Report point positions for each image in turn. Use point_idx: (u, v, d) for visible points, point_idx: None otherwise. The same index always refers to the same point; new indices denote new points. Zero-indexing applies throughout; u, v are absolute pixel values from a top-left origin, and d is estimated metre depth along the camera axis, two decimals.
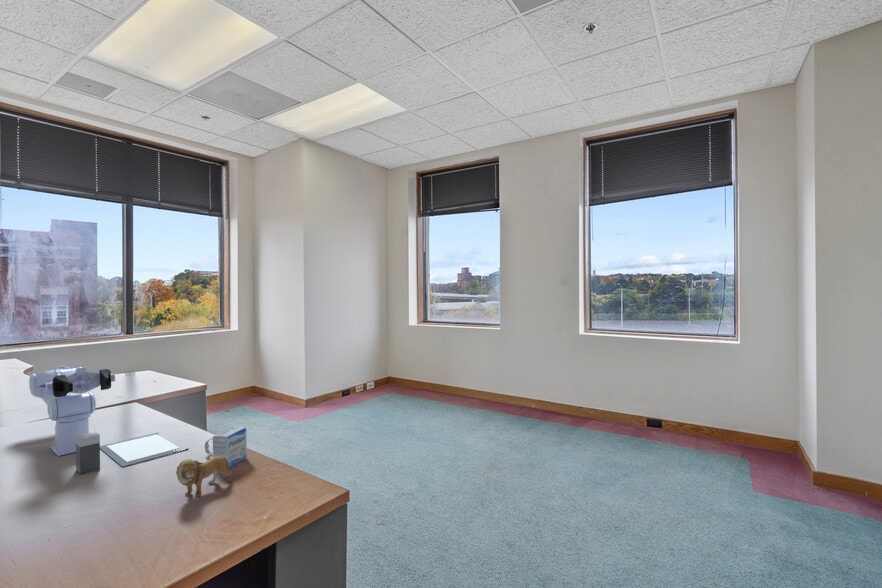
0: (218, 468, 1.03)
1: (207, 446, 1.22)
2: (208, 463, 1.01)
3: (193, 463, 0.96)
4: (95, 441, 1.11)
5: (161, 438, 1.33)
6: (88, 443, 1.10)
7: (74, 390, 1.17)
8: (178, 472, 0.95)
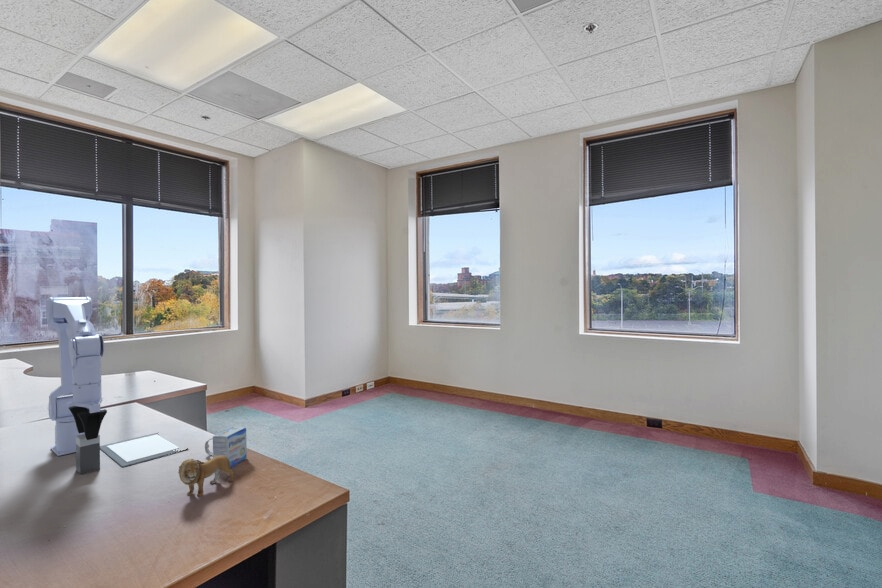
0: (220, 467, 1.03)
1: (207, 446, 1.22)
2: (210, 462, 1.02)
3: (195, 462, 0.97)
4: (95, 441, 1.11)
5: (161, 438, 1.33)
6: (88, 443, 1.10)
7: None
8: (180, 471, 0.95)
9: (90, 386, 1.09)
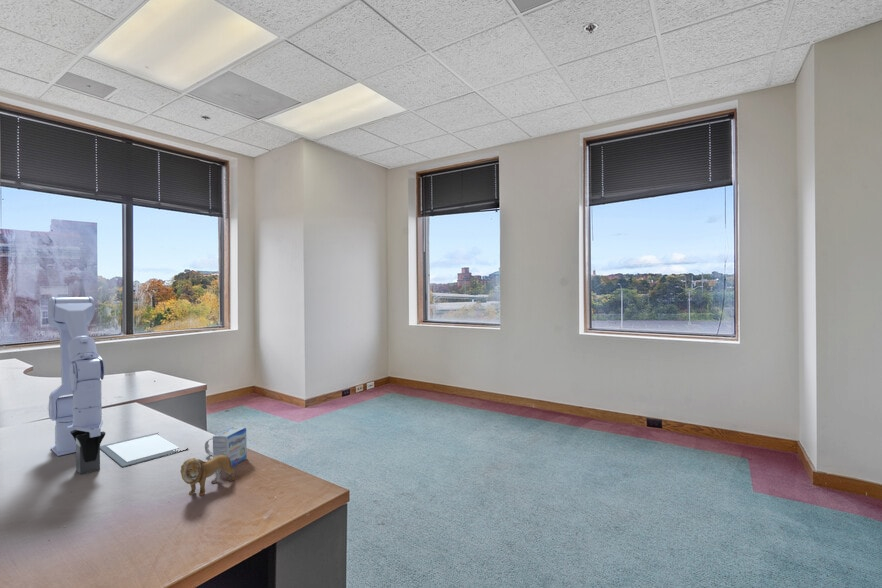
0: (221, 467, 1.04)
1: (207, 446, 1.22)
2: (211, 462, 1.02)
3: (197, 462, 0.97)
4: None
5: (161, 438, 1.33)
6: None
7: None
8: (182, 471, 0.95)
9: (90, 410, 1.10)
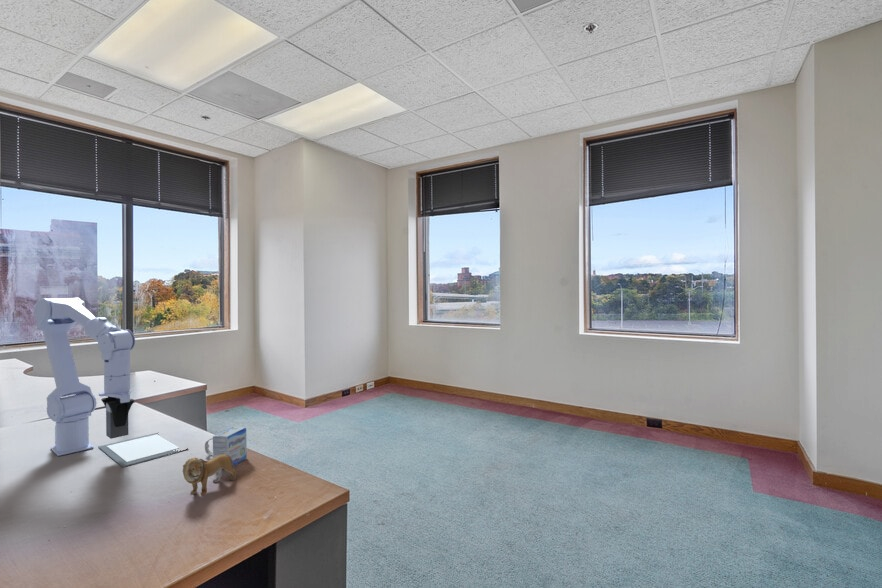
0: (223, 466, 1.04)
1: (207, 446, 1.22)
2: (213, 461, 1.02)
3: (199, 461, 0.97)
4: None
5: (161, 438, 1.33)
6: None
7: None
8: (185, 470, 0.95)
9: (120, 378, 1.17)
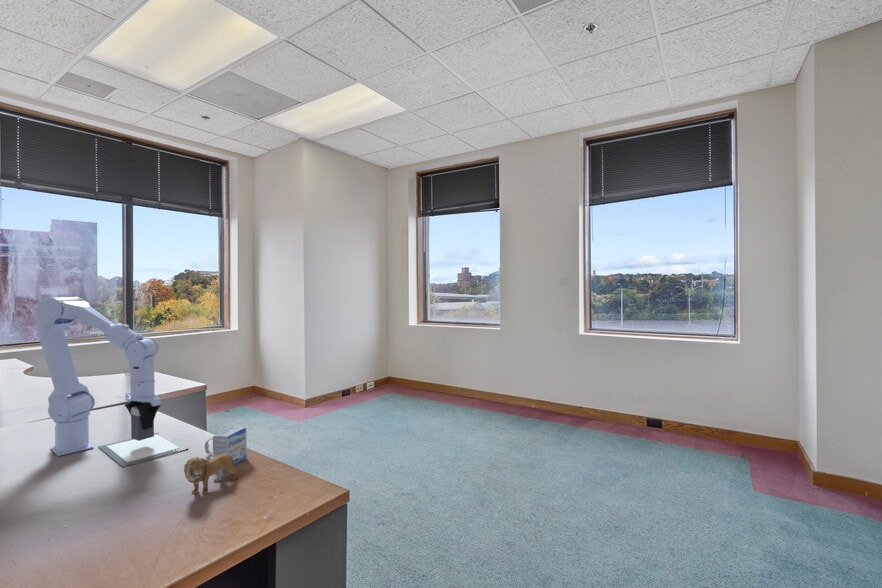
0: (224, 466, 1.04)
1: (207, 446, 1.22)
2: (214, 461, 1.03)
3: (200, 461, 0.98)
4: None
5: (161, 438, 1.33)
6: None
7: None
8: (186, 470, 0.96)
9: (148, 383, 1.25)
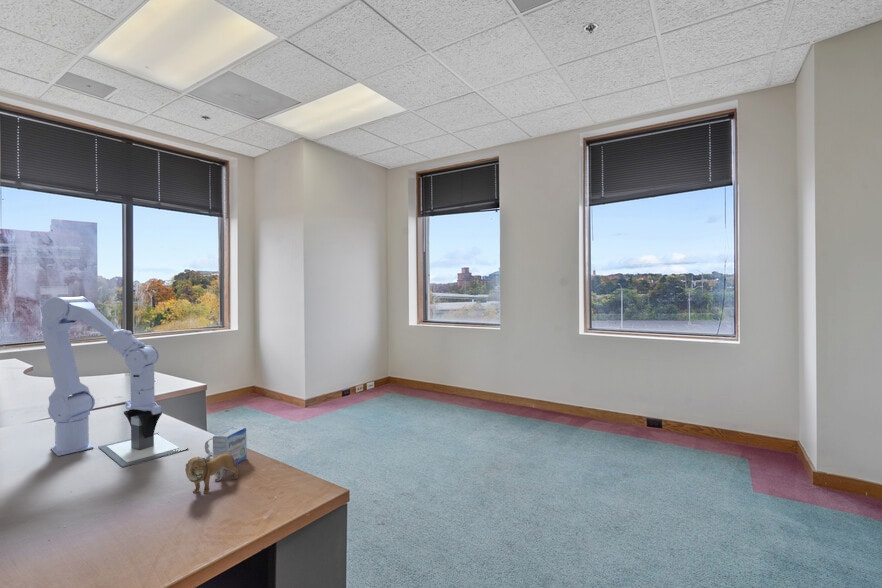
0: (225, 465, 1.05)
1: (207, 446, 1.22)
2: (215, 460, 1.03)
3: (202, 460, 0.98)
4: None
5: (161, 438, 1.33)
6: None
7: None
8: (187, 469, 0.96)
9: (148, 391, 1.25)
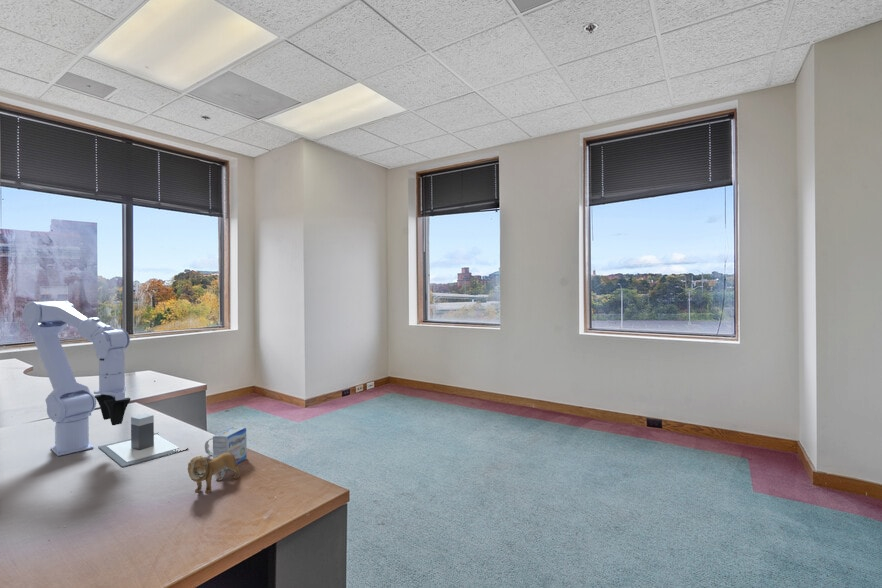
0: (226, 464, 1.05)
1: (207, 446, 1.22)
2: (217, 460, 1.03)
3: (204, 459, 0.98)
4: (150, 421, 1.26)
5: (161, 438, 1.33)
6: (145, 422, 1.25)
7: None
8: (190, 468, 0.96)
9: (115, 376, 1.19)
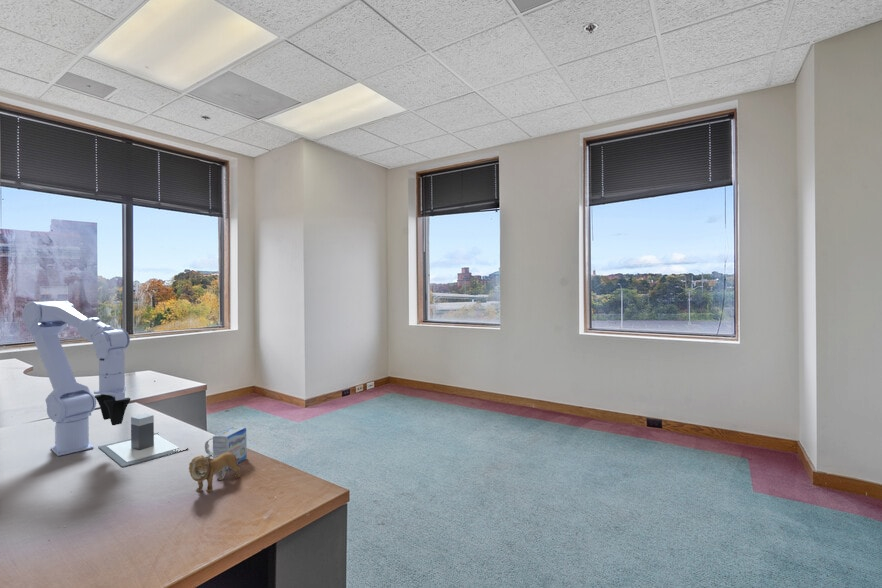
0: (227, 464, 1.05)
1: (207, 446, 1.22)
2: (218, 459, 1.04)
3: (205, 459, 0.99)
4: (150, 421, 1.26)
5: (161, 438, 1.33)
6: (145, 422, 1.25)
7: None
8: (191, 468, 0.97)
9: (115, 376, 1.19)
